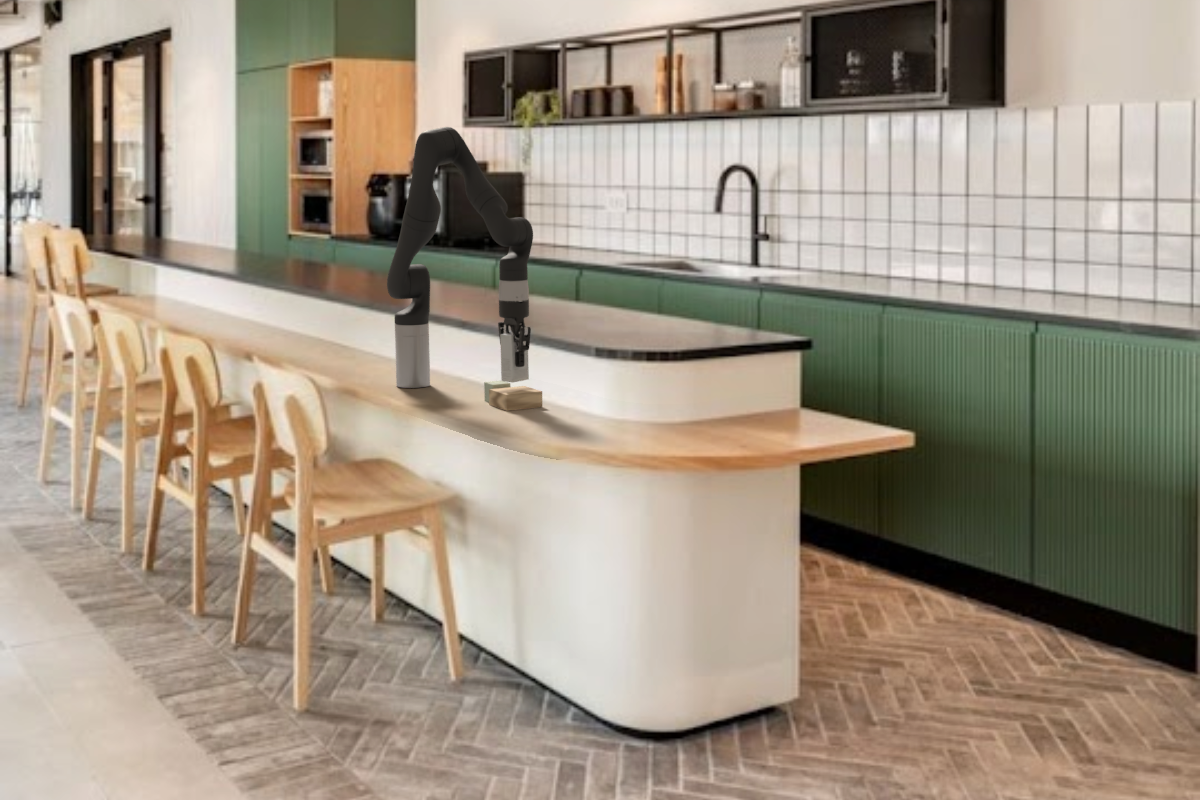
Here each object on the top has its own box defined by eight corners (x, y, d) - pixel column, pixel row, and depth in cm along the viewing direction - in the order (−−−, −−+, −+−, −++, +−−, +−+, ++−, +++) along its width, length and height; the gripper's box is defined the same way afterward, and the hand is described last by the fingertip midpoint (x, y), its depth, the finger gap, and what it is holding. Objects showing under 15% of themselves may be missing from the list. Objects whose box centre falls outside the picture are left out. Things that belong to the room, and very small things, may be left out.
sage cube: (484, 401, 378) (484, 382, 377) (502, 399, 380) (501, 380, 379) (493, 404, 374) (492, 384, 373) (510, 402, 376) (510, 383, 375)
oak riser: (489, 404, 372) (489, 389, 371) (524, 401, 377) (524, 385, 376) (506, 410, 363) (506, 394, 363) (542, 407, 368) (542, 391, 368)
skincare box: (516, 378, 373) (516, 331, 371) (529, 379, 370) (528, 332, 368) (500, 381, 368) (499, 333, 366) (512, 382, 365) (512, 335, 363)
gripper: (487, 296, 370) (489, 362, 373) (513, 301, 357) (514, 370, 360) (514, 294, 373) (515, 360, 376) (540, 299, 361) (541, 367, 364)
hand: (514, 364), depth 368 cm, fingers closed on skincare box, 5 cm apart
